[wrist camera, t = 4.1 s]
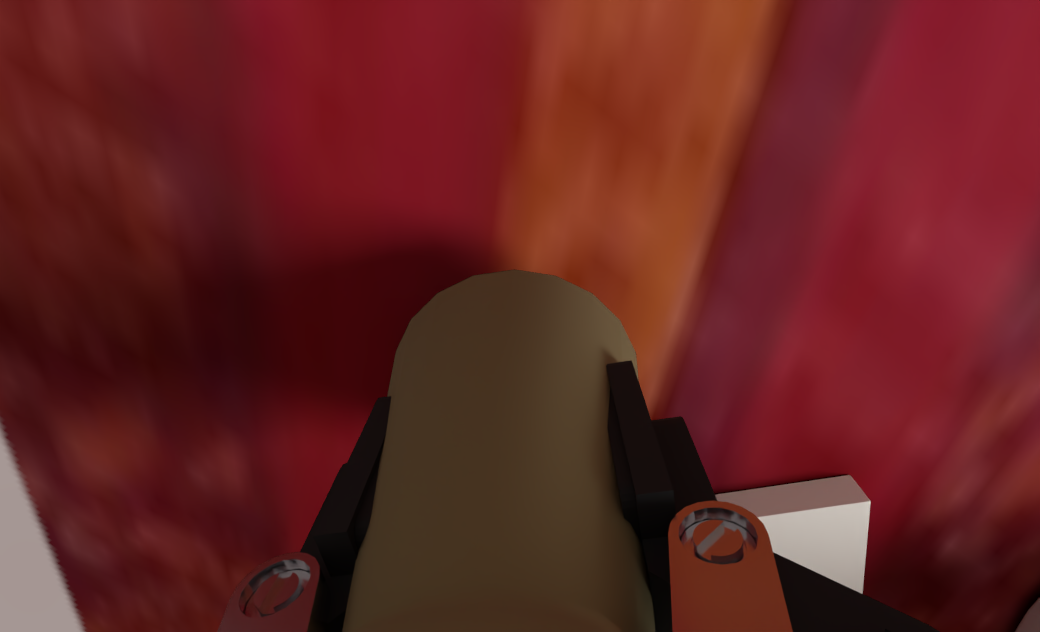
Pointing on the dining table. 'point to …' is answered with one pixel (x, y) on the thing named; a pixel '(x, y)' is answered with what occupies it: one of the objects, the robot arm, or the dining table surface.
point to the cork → (502, 471)
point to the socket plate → (814, 524)
